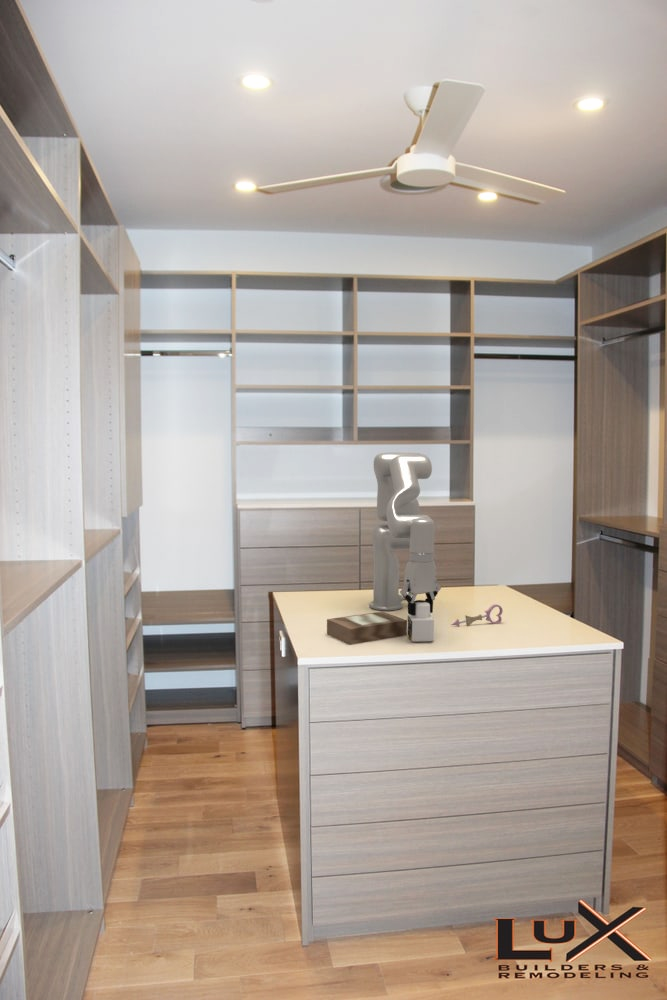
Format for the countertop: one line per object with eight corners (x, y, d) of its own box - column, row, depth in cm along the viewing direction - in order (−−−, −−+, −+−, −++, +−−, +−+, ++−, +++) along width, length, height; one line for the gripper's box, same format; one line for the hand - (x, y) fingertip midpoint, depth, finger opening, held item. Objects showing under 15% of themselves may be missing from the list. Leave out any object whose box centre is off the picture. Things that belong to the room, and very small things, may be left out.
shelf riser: (382, 625, 254) (382, 610, 253) (406, 635, 242) (407, 619, 241) (326, 634, 242) (326, 618, 242) (349, 644, 230) (350, 628, 230)
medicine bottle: (407, 635, 239) (407, 598, 238) (429, 634, 240) (429, 598, 239) (411, 641, 232) (411, 604, 231) (433, 641, 233) (434, 604, 232)
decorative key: (451, 634, 254) (502, 621, 260) (452, 635, 253) (504, 622, 259) (448, 616, 253) (499, 602, 259) (450, 616, 252) (501, 603, 258)
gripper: (435, 553, 241) (434, 607, 243) (392, 557, 232) (391, 614, 234) (450, 557, 235) (448, 612, 237) (406, 561, 226) (405, 619, 228)
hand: (420, 612), depth 235 cm, fingers closed on medicine bottle, 6 cm apart
